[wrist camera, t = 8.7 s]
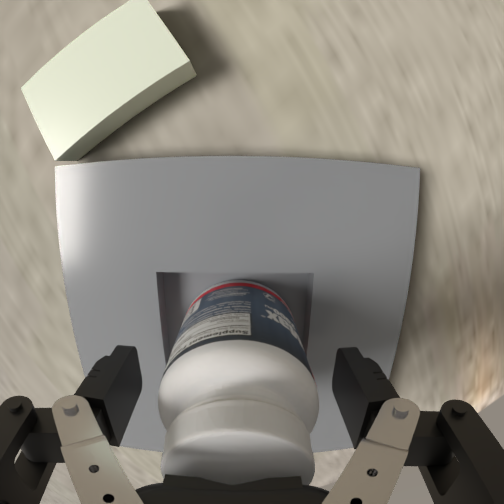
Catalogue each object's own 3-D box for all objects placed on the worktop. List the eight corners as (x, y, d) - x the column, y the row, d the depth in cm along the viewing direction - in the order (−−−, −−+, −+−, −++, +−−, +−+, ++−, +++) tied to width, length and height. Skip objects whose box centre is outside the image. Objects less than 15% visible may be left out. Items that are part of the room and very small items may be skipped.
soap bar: (154, 15, 12) (141, -7, 10) (197, 77, 13) (189, 60, 11) (47, 96, 13) (21, 87, 11) (80, 160, 14) (55, 160, 12)
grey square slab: (401, 167, 14) (420, 168, 12) (360, 426, 18) (368, 445, 16) (73, 166, 14) (54, 166, 12) (115, 425, 18) (107, 443, 16)
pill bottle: (307, 353, 16) (354, 497, 7) (212, 384, 16) (196, 530, 7) (272, 260, 14) (312, 382, 6) (166, 299, 15) (97, 433, 6)
